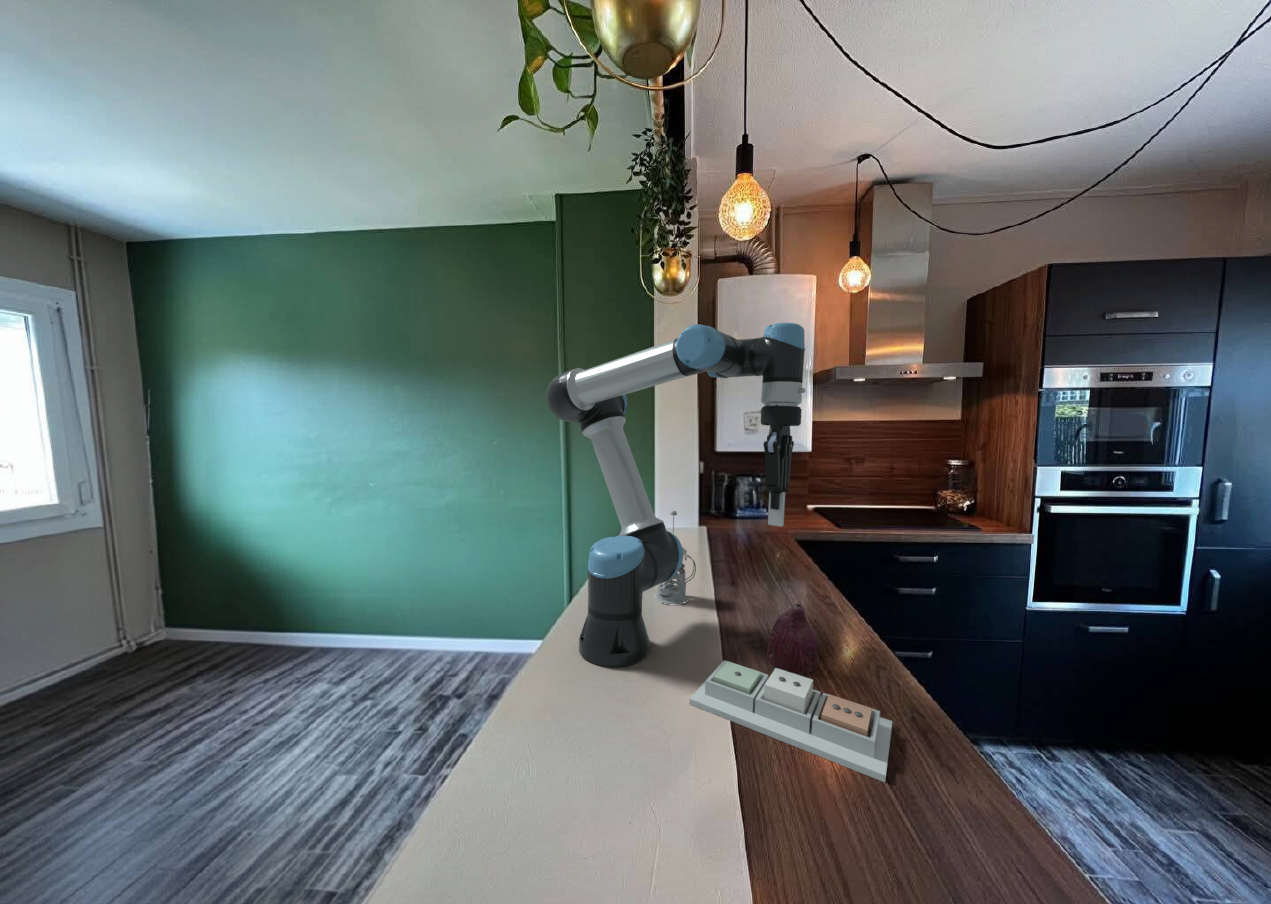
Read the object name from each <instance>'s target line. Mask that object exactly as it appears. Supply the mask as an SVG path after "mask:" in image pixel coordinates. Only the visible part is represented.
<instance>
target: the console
mask: <svg viewBox="0 0 1271 904" xmlns="http://www.w3.org/2000/svg"><path fill="white" fill-rule="evenodd" d="M727 661H728V660H723V661H722V662H721V663H720V664H719V665H718V666H717V667H716V668H715V669H714V671H713V672H712V673H711V674H710V675H709V676H708V677H707V678H706V679H705V681H704V682H702V684H701V685H700V686H699V688H698V689H696V691H695V692H694V693H693V694H692V695H691V696H690V697H689V703H688V704H689V706H690V705H691V706H692V707H695V708H698V709H701V710H703V711H705V712H708V713H709V714H710V713H711V714H713V715H715V716H718V715H719V716H718V717H720V716H721V717H720V718H723V717H724V718H723V719H725V718H727V719H726V720H729V721H730V722H733V723H736V724H738V725H739V726H740V725H741V726H743V727H745V728H748V729H750V730H752V731H755V732H758V733H761V734H763V735H766V736H768V737H769V738H773V739H776V740H778V741H780V742H782V743H786V744H788V745H790V746H793V747H795V748H798V749H800V750H803V751H806V752H808V753H810V754H813V755H815V756H817V757H820V758H823V759H826V760H828V761H831V762H833V763H836V764H837V765H841V766H843V767H845V768H848V769H849V770H852V771H855V772H858V773H860V774H863V775H866V776H868V777H870V778H873V779H875V780H878V781H880V782H883V783H886V778H887V772H888V770H887V769H888V763H889V756H890V755H889V754H890V753H889V752H890V745H891V740H892V739H891V738H892V730H893V721H892V720H889V719H887V718H884V717H881V711H880V710H877V709H874V708H872V715H871V728H870V733H869V737H866V736H863V735H861V734H858V733H855V732H852V731H850V730H847V729H844V728H841V727H838V726H836V725H833V724H830V723H827V722H824V721H822V720H821V715H822V712H823V709H824V706H825V704H826V701H827V698H828V696H829V693H825V692H821V691H819V690H816V689H813V694H812V699H811V701H810V703H809V706H808V708H807V710H806V712H805V714H802V713H799V712H797V711H794V710H791V709H788V708H785V707H783V706H780V705H777V704H774V703H771V702H769V701H766V700H764V688H765V683H766V682H767V680H768V679H769V674H766V673H764V672H761V677H760V682H759V684H758V685H757V687H756V688H755V689H754V691H753V692H752V694H751V695H749V694H746V693H744V692H741V691H738V690H735V689H732V688H730V687H727V686H724V685H721V684H718V683H716V682H714V676H715V675H716V674H717V672H718V671H719V670H720V669H721V668H722V667H723V666H724V664H725V663H726V662H727ZM821 693H822V694H821Z"/></svg>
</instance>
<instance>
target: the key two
mask: <svg viewBox="0 0 1271 904" xmlns="http://www.w3.org/2000/svg"><path fill="white" fill-rule="evenodd" d="M813 690H814V679H812V678H809V677H805V676H803V675H801V674H796V673H791V672H787V671H785V670H782V669H779V668H776V667H775V668H774V670H773V671H772V673H771V674H770V676H768V680H767V682H766V683H765V688H764V700H766V701H769V702H771V703H774V704H777V705H780V706H783V707H785V708H788V709H791V710H794V711H797V712H799V713H802V714H805V712H806V710H807V708H808V706H809V703H810V701H811V699H812V694H813Z"/></svg>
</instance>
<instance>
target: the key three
mask: <svg viewBox="0 0 1271 904" xmlns="http://www.w3.org/2000/svg"><path fill="white" fill-rule="evenodd" d="M828 694H829V693H828ZM872 709H873V708H872V707H869V706H866V705H863V704H860V703H857V702H854V701H851V700H848V699H846V698H842V697H840V696H839V697H838V696H836V695H833V694H829V696H828V698H827V701H826V704H825V706H824V709H823V712H822V715H821V720H822V721H824V722H827V723H830V724H833V725H836V726H838V727H841V728H844V729H847V730H850V731H852V732H855V733H858V734H861V735H863V736H866V737H869V733H870V728H871V715H872Z"/></svg>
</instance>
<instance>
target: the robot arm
mask: <svg viewBox="0 0 1271 904" xmlns="http://www.w3.org/2000/svg"><path fill="white" fill-rule="evenodd" d="M805 351H806V347H805V329H804V327H803V326H802V325H801V324H798V323H795V322H794V323H793V322H778V323H774V324H769V325H767V326H765V329H764V332H763V336H762V337H756V338H743V339H742V338H741V339H738V338H736V337H733V336H731V335H729V334H726V333H724V332H722V331H720V330H718V329H716V328H715V327H712V326H710V325H703V324H698V323H697V324H696V323H695V324H692V325H689V326H687V327H685V329H684V330H683V331H682V332H681V333H680V334H679V335H678V337H677V338H674V339H671V340H669V341H666V342H663V343H659V344H657V345H654V346H651V347H649V348H645V349H642V350H640V351H636V352H634V353H631V354H628V355H625V356H623V357H619V358H616V359H614V360H611V361H608V362H605V363H602V364H599V365H596V366H593V367H591V368H588V369H583V368H581V367H576V368H574V369H570V370H568V371H564V372H562V373H561V374H558V375H556V376H555V377H553V379H552V380H551V381H550V382H549V384H548V386H547V387H546V391H545V400H546V404H547V408H548V409H549V410H550V412H551V414H553V415H554V416H555V417H556V418H558V419H559V420H561V421H564V422H566V423H567V422H568V423H579V424H578V425H579V427H580V430H581V433H582V436H584V437H586V438H588V439H590V441H591V443H592V447H593V450H594V452H595V455H596V459H597V460H598V463H599V466H600V470H601V472H602V475H603V478H604V481H605V484H606V487H607V490H608V492H609V495H610V498H611V501H612V504H613V507H614V510H615V513H616V517H617V518H618V522H619V524H620V527H621V530H620V531H619V532H620V533H619V535H616V536H608V537H605V538H601V539H599V540H598V541H596V542H595V543H593V544H592V546H591V547H590V549H589V557H588V558H589V559H588V563H587V568H588V569H587V570H588V576H587V577H588V578H587V579H588V580H587V581H588V582H587V587H588V588H587V614H586V618H585V621H584V624H583V626H582V630H581V632H580V636H579V639H578V651H579V654H580V656H581V657H582V658H583V659H585V661H587V662H589V663H592V664H594V665H599V666H601V667H616V668H617V667H625V666H626V667H627V666H630V665H633V664H636V663H639V662H640V661H642V660H644V659H645V658H646V657H647V656H648V654H649V651H650V637H649V635H648V632H647V628H646V624H645V620H644V617H643V593H644V592H646V591H648V590H650V589H653V588H655V586H658V584H660V583H663V584H664V583H665V582H667V581H668V580H669V579H670V578H671V577H673V576H674V575H675V574H676V573H679V572H678V571H679V569H680V567H681V565H682V563H683V561H684V555H683V549H682V547H683V546H682V544H681V541H680V539H679V538H678V537H677V536H676V535H675V534H674V533H673V532H671V531H669V530H667V528H666V525H665V522H664V520H662V519H660V518H658V517H656V515H655V513H654V511H653V508H652V505H651V502H650V500H649V497H648V494H647V492H646V488H645V485H644V483H643V479H642V478H641V475H640V471H639V470H638V466H637V464H636V460H635V459H634V456H633V453H632V451H631V448H630V447H631V446H630V444H629V442H628V439H627V436H626V433H625V430H624V425H625V424H626V422H627V419H626V417H625V415H626V413H627V409H626V408H627V407H628V399H627V395H628V394H632V393H635V392H638V391H641V390H646V389H648V388H649V389H650V388H652V387H655V386H658V385H662V384H665V383H668V382H669V383H670V382H672V381H675V380H679V379H682V378H686V377H691V376H694V375H698V374H702V373H705V372H707V374H708V376H709V377H711V378H721V379H729V378H740V377H742V378H743V377H761V376H762V381H761V399H760V400H761V401H760V402H761V404H763V405H764V406H762V407H761V408H760V424H761V425H762V426H769V430H768V431H769V432H768V435H767V437H766V440H765V441H764V442H763V449H764V461H765V462H764V467H765V471H764V472H765V488H764V492H765V493H769V494H768V512H767V525H769V526H775V527H781V528H782V527H783V526H784V525H785V524H784V523H785V505H786V504H785V503H786V493H790V492H791V489H790V488H789V486H790V484H789V483H790V473H791V465H792V455H793V449H794V445H795V442H794V440H793V435H791V427H799V426H800V425H801V423H802V408H801V406H799V405H801V404H802V403H803V401H802V398H803V395H802V394H805V393H806V388H805V387H803V384H804V383H803V382H804V380H803V379H804V364H805Z"/></svg>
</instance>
